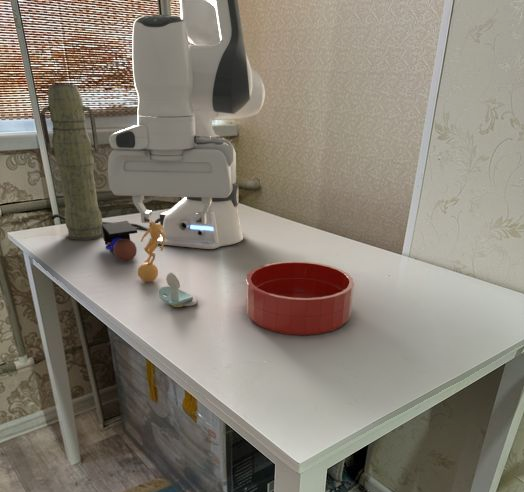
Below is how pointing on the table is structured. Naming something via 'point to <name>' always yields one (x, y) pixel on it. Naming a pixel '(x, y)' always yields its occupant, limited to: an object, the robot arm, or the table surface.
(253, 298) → the bowl
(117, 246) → the figurine character
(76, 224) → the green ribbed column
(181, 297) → the pacifier
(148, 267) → the figurine
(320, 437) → the table surface
